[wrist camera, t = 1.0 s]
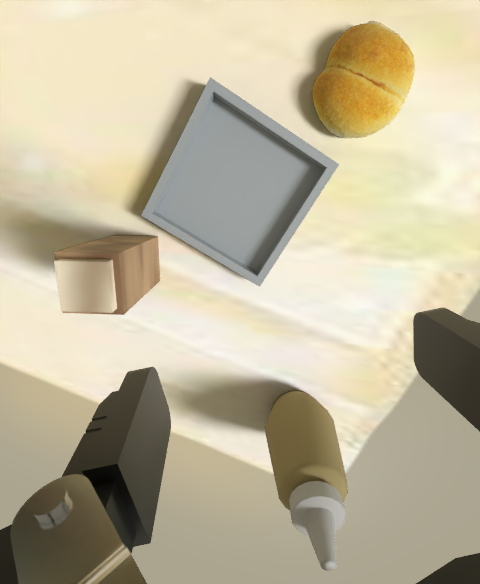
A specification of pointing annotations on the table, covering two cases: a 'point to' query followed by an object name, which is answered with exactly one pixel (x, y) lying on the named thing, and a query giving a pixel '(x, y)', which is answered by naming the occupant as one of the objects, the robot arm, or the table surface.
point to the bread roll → (364, 81)
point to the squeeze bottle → (308, 470)
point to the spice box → (106, 274)
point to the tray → (237, 184)
